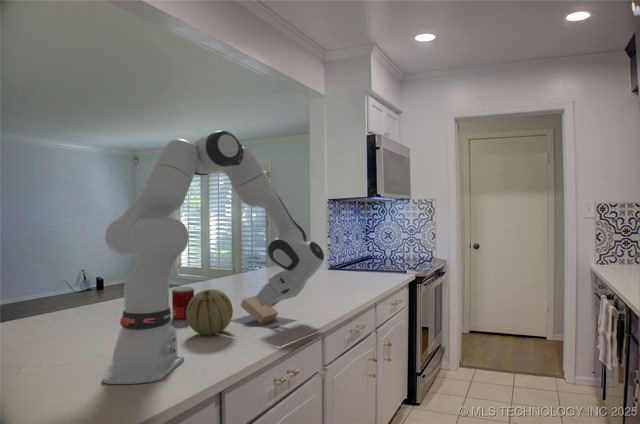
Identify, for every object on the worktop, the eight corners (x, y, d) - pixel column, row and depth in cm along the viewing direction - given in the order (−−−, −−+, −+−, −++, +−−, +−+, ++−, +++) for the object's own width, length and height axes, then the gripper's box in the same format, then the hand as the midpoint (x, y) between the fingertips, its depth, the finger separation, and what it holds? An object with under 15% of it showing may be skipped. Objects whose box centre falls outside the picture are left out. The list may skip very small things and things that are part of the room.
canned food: (188, 320, 163) (187, 290, 163) (168, 319, 165) (168, 290, 165) (197, 315, 171) (197, 287, 171) (178, 314, 172) (178, 286, 172)
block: (278, 312, 162) (258, 295, 167) (263, 316, 155) (243, 299, 160) (275, 319, 163) (255, 301, 168) (260, 324, 156) (240, 305, 161)
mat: (296, 321, 161) (296, 320, 161) (271, 330, 149) (271, 329, 149) (255, 314, 172) (255, 313, 172) (229, 322, 160) (229, 320, 160)
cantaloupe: (228, 326, 155) (228, 283, 155) (236, 337, 141) (236, 290, 141) (184, 330, 150) (184, 286, 149) (188, 343, 136) (187, 294, 136)
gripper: (303, 270, 163) (282, 294, 169) (266, 277, 146) (245, 303, 152) (313, 283, 161) (292, 307, 166) (277, 292, 144) (255, 318, 149)
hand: (269, 305), depth 159 cm, fingers closed
